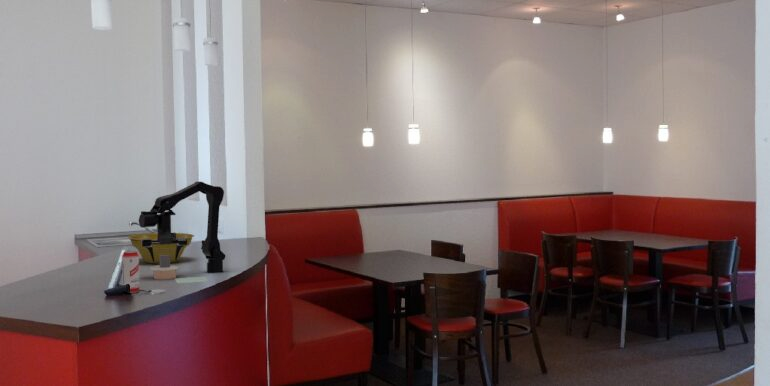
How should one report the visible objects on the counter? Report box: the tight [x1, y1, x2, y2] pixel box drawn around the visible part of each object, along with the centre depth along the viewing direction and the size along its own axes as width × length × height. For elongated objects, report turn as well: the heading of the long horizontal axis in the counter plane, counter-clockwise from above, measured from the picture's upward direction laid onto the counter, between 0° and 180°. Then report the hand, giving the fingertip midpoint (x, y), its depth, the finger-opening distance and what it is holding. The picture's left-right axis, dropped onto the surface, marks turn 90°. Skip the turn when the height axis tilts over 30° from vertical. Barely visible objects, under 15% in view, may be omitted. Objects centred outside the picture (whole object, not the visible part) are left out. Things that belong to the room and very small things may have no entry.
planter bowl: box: [127, 232, 195, 264], centre depth 369 cm, size 32×32×13 cm
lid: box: [149, 255, 180, 271], centre depth 316 cm, size 12×12×6 cm
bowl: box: [153, 269, 177, 280], centre depth 316 cm, size 9×9×4 cm
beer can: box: [121, 250, 140, 294], centre depth 283 cm, size 6×6×16 cm
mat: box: [174, 276, 210, 284], centre depth 309 cm, size 13×13×1 cm
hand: (164, 261), depth 316 cm, fingers open, 9 cm apart
